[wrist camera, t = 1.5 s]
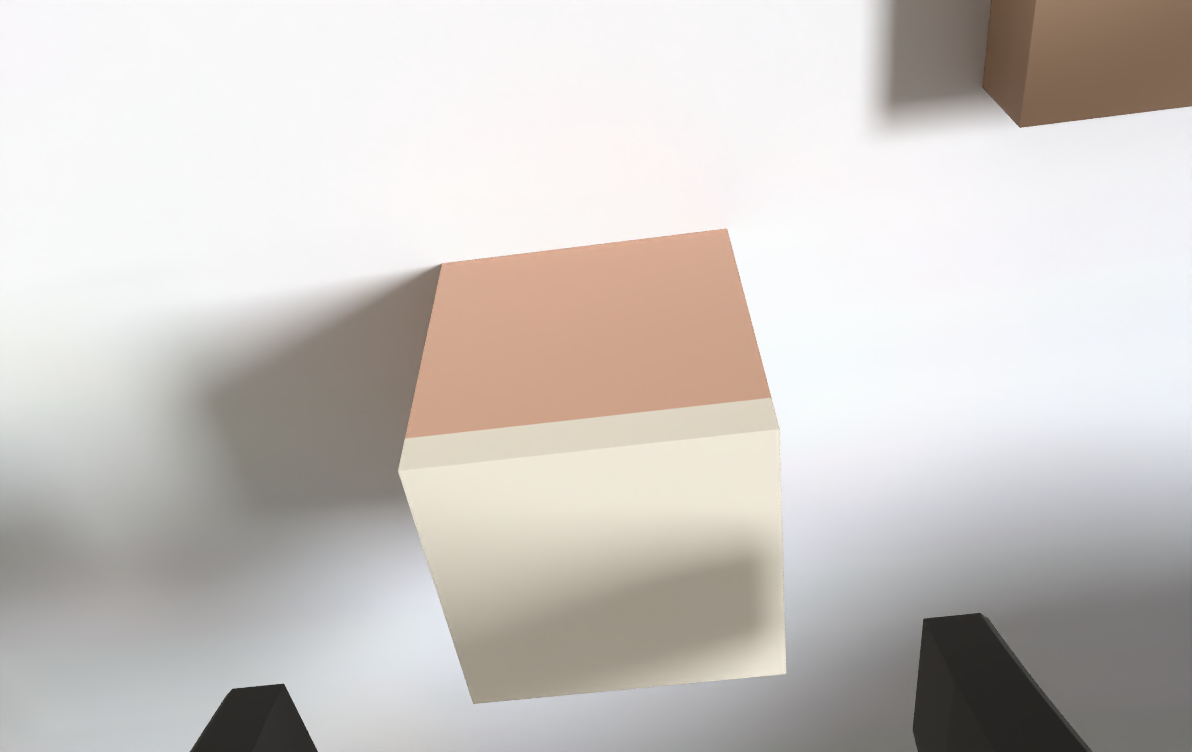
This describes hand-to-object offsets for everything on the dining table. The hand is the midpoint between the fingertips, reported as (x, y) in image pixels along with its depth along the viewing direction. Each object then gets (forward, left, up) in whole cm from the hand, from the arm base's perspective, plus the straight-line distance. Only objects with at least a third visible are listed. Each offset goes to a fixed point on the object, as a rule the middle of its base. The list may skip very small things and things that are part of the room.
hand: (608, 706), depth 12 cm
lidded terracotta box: (0, 0, -7) cm, 7 cm away
